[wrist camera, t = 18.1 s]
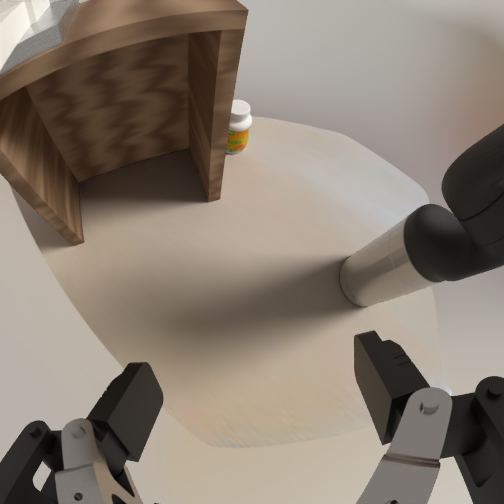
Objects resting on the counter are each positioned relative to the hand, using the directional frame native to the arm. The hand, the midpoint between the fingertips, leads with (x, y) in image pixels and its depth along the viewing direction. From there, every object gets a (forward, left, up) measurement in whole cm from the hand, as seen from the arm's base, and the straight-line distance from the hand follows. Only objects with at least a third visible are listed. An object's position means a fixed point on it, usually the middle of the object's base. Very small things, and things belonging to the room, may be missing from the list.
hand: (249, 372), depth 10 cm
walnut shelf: (+5, -30, -30) cm, 42 cm away
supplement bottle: (-14, -34, -30) cm, 47 cm away
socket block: (+12, -29, +2) cm, 31 cm away
